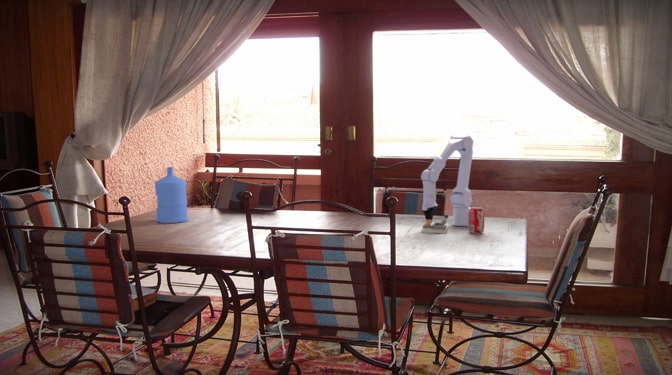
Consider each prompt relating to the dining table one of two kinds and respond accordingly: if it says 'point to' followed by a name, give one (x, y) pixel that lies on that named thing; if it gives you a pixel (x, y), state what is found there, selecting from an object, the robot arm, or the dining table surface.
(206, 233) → the dining table surface
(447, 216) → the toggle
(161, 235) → the dining table surface
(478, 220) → the soda can
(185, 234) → the dining table surface
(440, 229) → the panel
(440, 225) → the button
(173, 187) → the water jug
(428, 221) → the orange flat-faced block
